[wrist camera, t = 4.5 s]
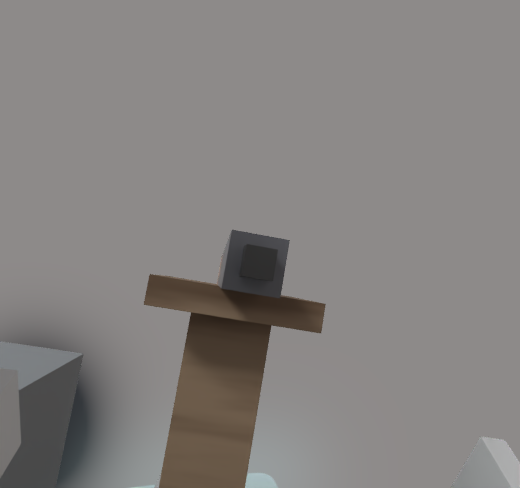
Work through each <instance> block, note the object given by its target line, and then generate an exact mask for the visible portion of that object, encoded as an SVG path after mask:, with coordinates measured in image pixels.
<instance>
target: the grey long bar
mask: <svg viewBox="0 0 520 488" xmlns="http://www.w3.org/2000/svg"><path fill="white" fill-rule="evenodd" d="M288 247H289V240H285V239H280V238H274V237H269V236H263V235H257V234H252V233H247V232H241V231H236V230H232V231H231V234H230V236H229V239H228V242H227V244H226V247H225V250H224V252H223V255H222V259H221V264H220V270H219V276H218V281H217V285H218V286H219V287H220V288H221V289H227V290H233V291H239V292H245V293H251V294H257V295H263V296H269V297H275V298H280V296H281V290H282V284H283V277H284V271H285V265H286V259H287V252H288Z"/></svg>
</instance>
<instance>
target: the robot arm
mask: <svg viewBox="0 0 520 488" xmlns="http://www.w3.org/2000/svg"><path fill="white" fill-rule="evenodd" d="M20 445H21V430H20V409H19V388H18V371H17V370H10V369H3V368H0V478H1V476H2V475H3V473H4V471H5V470H6V468H7V466H8V465H9V463H10V461H11V460H12V458H13V456H14V455H15V453H16V451H17V450H18V448H19V446H20ZM451 488H520V463H519V461H518V460H517V458H516V456H515V455H514V453H513V452H512V450H511V449H510V447H509V446H508V444H507V443H506V441H505V440H501V439H494V438H487V437H480V439H479V441H478V442H477V444H476V446H475V448H474V449H473V451H472V452H471V454H470V456H469V457H468V459H467V461H466V463H465V465H464V466H463V468H462V469H461V471H460V473H459V474H458V476H457V478H456V479H455V481H454V483H453V484H452V486H451Z"/></svg>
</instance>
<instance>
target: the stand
mask: <svg viewBox="0 0 520 488" xmlns="http://www.w3.org/2000/svg"><path fill="white" fill-rule="evenodd" d="M144 305H150V306H155V307H162V308H168V309H174V310H180V311H187V312H191V316H190V322H189V327H188V332H187V338H186V343H185V349H184V354H183V360H182V365H181V370H180V376H179V381H178V387H177V392H176V397H175V403H174V408H173V414H172V419H171V424H170V430H169V436H168V441H167V446H166V451H165V457H164V462H163V467H162V473H161V478H160V484H159V488H245V483H246V477H247V470H248V464H249V458H250V452H251V446H252V440H253V433H254V428H255V422H256V416H257V409H258V403H259V397H260V391H261V384H262V379H263V373H264V367H265V361H266V354H267V348H268V342H269V336H270V330H271V325H273V326H279V327H286V328H292V329H297V330H304V331H310V332H316V333H321V330H322V324H323V317H324V310H325V304H322V303H318V302H313V301H308V300H303V299H299V298H294V297H289V296H282V295H281V296H280V298H275V297H269V296H263V295H257V294H251V293H245V292H239V291H233V290H227V289H221V288H220V287H219V286H218V285H217V284H212V283H206V282H200V281H194V280H188V279H182V278H176V277H170V276H161V275H151V274H150V276H149V281H148V286H147V291H146V296H145V301H144Z"/></svg>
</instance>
